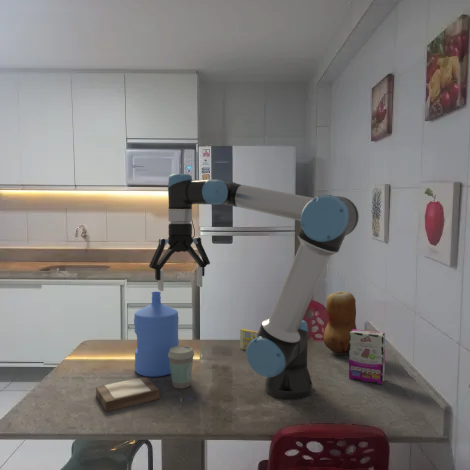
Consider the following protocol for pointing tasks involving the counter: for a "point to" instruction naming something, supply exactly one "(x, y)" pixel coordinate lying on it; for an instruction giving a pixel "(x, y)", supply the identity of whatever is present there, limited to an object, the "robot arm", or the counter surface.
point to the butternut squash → (339, 321)
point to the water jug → (155, 337)
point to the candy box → (246, 337)
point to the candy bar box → (367, 356)
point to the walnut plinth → (126, 393)
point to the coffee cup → (181, 365)
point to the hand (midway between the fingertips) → (180, 288)
